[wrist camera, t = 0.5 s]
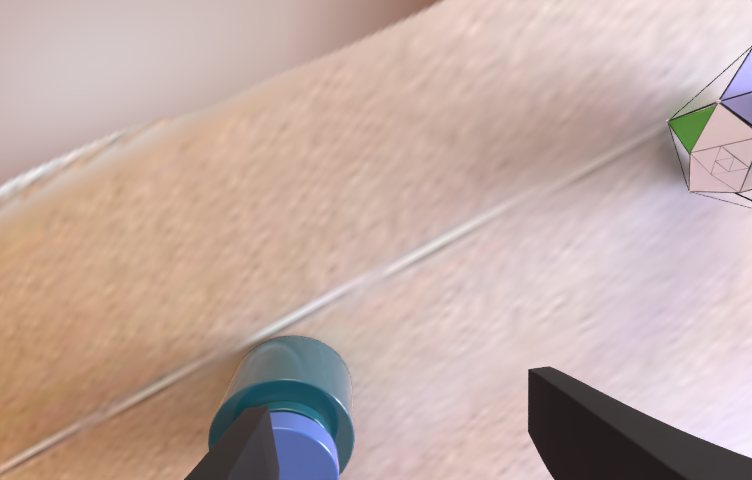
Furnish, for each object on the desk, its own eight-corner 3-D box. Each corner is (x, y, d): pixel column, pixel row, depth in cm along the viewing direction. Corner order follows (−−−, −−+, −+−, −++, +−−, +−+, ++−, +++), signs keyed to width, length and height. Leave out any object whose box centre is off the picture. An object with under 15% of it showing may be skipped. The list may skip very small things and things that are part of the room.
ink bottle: (362, 423, 22) (371, 526, 16) (251, 450, 21) (217, 565, 15) (337, 323, 20) (337, 394, 14) (217, 350, 20) (165, 435, 14)
